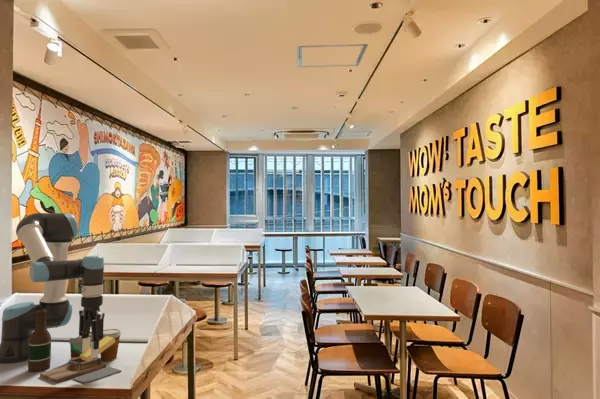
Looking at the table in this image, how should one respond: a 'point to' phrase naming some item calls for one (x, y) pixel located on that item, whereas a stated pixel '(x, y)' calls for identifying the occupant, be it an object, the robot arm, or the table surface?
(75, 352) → the food container
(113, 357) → the disposable coffee cup
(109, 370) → the charcoal mat
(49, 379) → the walnut jig
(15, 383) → the table surface
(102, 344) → the mustard bar
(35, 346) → the beer bottle
